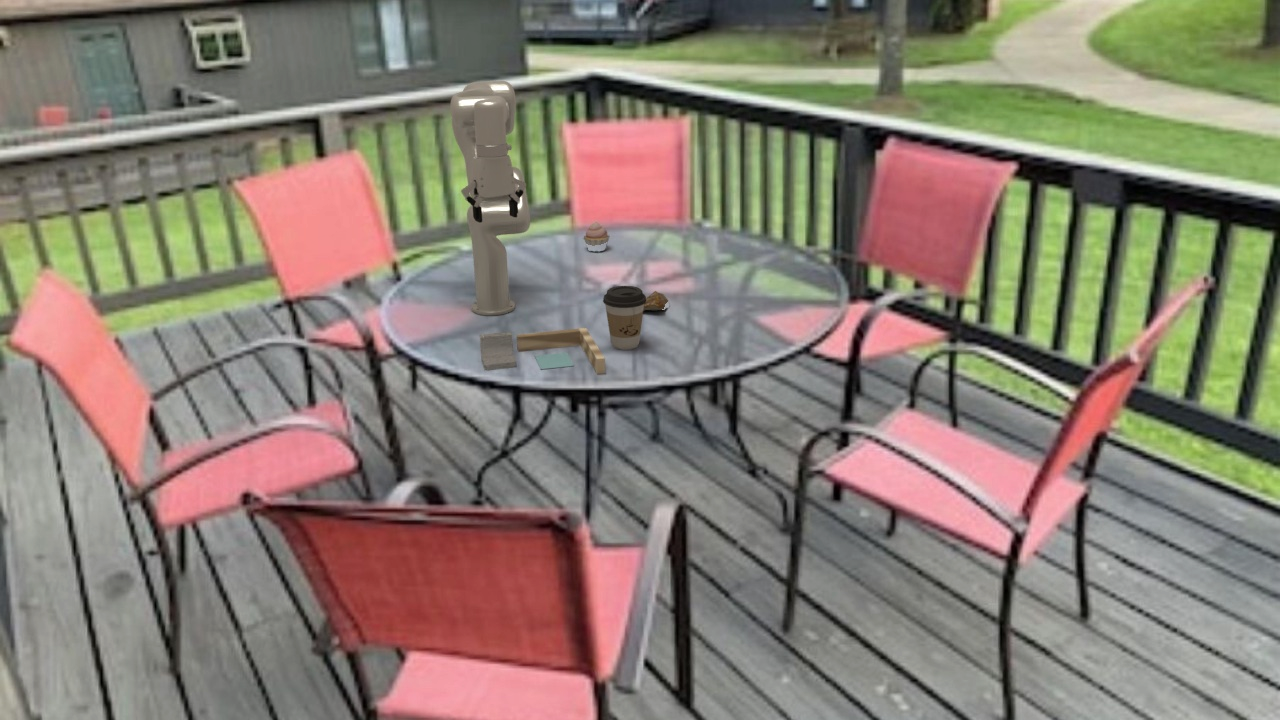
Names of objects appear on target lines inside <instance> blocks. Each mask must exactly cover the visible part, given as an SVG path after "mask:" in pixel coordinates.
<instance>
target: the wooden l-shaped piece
mask: <svg viewBox="0 0 1280 720" xmlns="http://www.w3.org/2000/svg"><path fill="white" fill-rule="evenodd" d="M576 346H580V347H581V348H582V350H583V352H584V353H585V356H586V357H587V359H588V361H589V362H590V364H591V366H592V368H593V369H594V371H595V373H596V374H597V375H603V374H606V358H605V356H604V355H603V353H602V351H601V350H600V348H599V347H598V345H597V344H596V341H595V340H594V338H593V337H592V335H591V334H590V332H589V331H588V329H587V328H586V327H580V328H578V327H577V328H570V329H569V328H568V329H559V330H551V331H550V330H549V331H540V332H532V333H521V334H516V347H517V351H518V352H526V351H528V352H529V351H537V350H539V351H540V350H548V349H549V350H550V349H557V348H565V347H566V348H567V347H576Z"/></svg>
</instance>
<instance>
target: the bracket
mask: <svg viewBox="0 0 1280 720" xmlns="http://www.w3.org/2000/svg"><path fill="white" fill-rule="evenodd" d="M479 342H480V344H479V345H480V354H481V355H480V356H481V363H482V365H483V369H484V371H485V370H486V371H493V370H494V371H495V370H503V369H512V368H517V366H518V365H517V360H516V357H515V355H514V342H513V332H512V331H506V332H495V333H484V334H479Z"/></svg>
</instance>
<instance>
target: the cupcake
mask: <svg viewBox="0 0 1280 720" xmlns="http://www.w3.org/2000/svg"><path fill="white" fill-rule="evenodd" d="M583 240H584V243H585V245H586V244H588V245H592V246H595V245H601V244H604V243H606V242H607V243H608V242H609V240H610V235H609V234H608V230H607V229H606V227H604V226H603V225H600V223H598V221H595V222H594V223H592V224H590V226H589V228H588V229H587V230H586V232H585V235H583Z"/></svg>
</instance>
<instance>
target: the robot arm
mask: <svg viewBox="0 0 1280 720" xmlns="http://www.w3.org/2000/svg"><path fill="white" fill-rule="evenodd" d="M516 99H517V98H516V93H515V89H514V87H513V86H512V84H511V82H508V81H507V80H492V81H491V80H490V81H487V80H486V81H482V80H481V81H474V82H470V83H469V84H466V85H465V87H464V88H463V90H462V91H460V92H456V93H454V94H453V95H452V97H451V99H450V115H451V126H452V131H453V135H454V138H455V141H456V143H457V145H458V148H459V149H460V151H461V153H462V156H463V157H464V162H465V171H466V177H467V185H466V186H465V187H463V188H462V189H461V191H460V192H461V194H462V195H463V198H464V200H465V201H466V202H468V203H469V204H470V206H469V207H468V209H467V211H466V219H467V224H468V230H469V233H470V238H471V247H472V256H473V257H472V258H473V269H474V270H473V271H474V283H475V295H476V296H475V298H476V301H474V302H473V303H472V304H471V311H472V312H473V313H475V314H477V315H480V316H500V315H505V314H508V312H509V313H511V312H513V311H514V310H515V309H516V303H515V301H514V300H511V299H510V288H509V272H508V271H509V270H508V269H509V268H508V255H507V254H508V253H507V248H506V246H505V245H504V243H503V242H502V241H501V240H500V239H499V238H498V237H499V236H503V235H517V234H524V233H526V232H527V231H528V230H529V228H530V226H531V214H530V208H529V201H528V200H529V199H528V195H527V189H526V187H527V183H526V182H525V178H524V174H523V172H522V171H521V169H519V167H516V166H513V164H512V160H511V156H510V155H509V151H512V148H513V146H512V144H508V142H507V135H510V134H512V133H513V131H514V128H515V118H516V108H517V107H516V106H517V105H516V103H517V101H516ZM497 236H498V237H497ZM514 308H515V309H514Z"/></svg>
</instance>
